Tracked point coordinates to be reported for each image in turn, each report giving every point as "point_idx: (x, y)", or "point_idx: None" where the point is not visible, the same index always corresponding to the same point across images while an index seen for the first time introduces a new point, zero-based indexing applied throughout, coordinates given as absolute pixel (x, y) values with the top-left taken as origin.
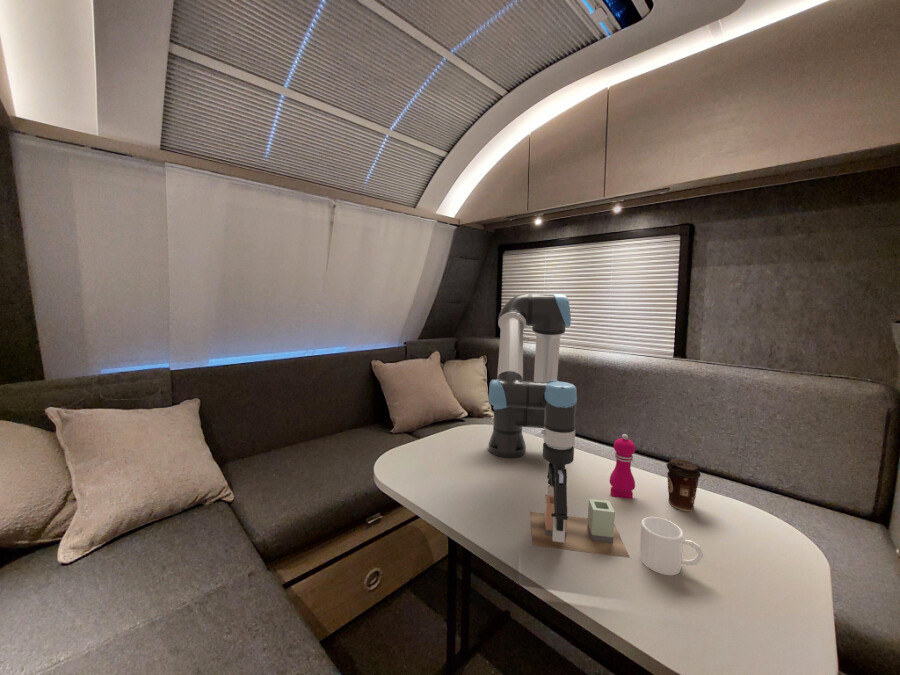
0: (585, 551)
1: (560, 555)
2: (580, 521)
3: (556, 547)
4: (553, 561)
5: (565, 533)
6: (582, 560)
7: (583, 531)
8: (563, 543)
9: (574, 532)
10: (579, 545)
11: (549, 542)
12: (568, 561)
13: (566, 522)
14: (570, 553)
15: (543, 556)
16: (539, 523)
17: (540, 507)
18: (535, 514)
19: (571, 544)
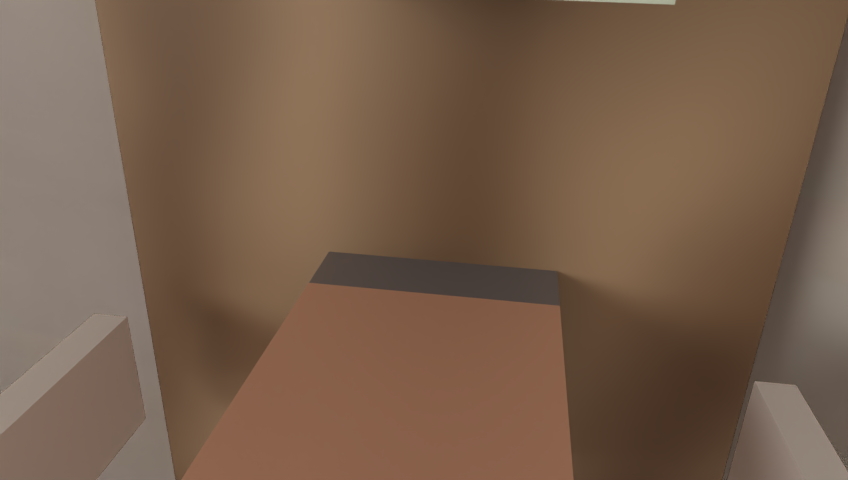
0: (817, 106)
1: None
2: (186, 19)
3: (735, 401)
4: (830, 405)
5: (556, 304)
6: (835, 132)
7: (400, 31)
8: (663, 320)
9: (443, 154)
10: (694, 152)
11: (651, 443)
12: (840, 277)
13: (564, 388)
14: None
15: None
16: None
17: (15, 356)
18: None
19: (678, 240)
